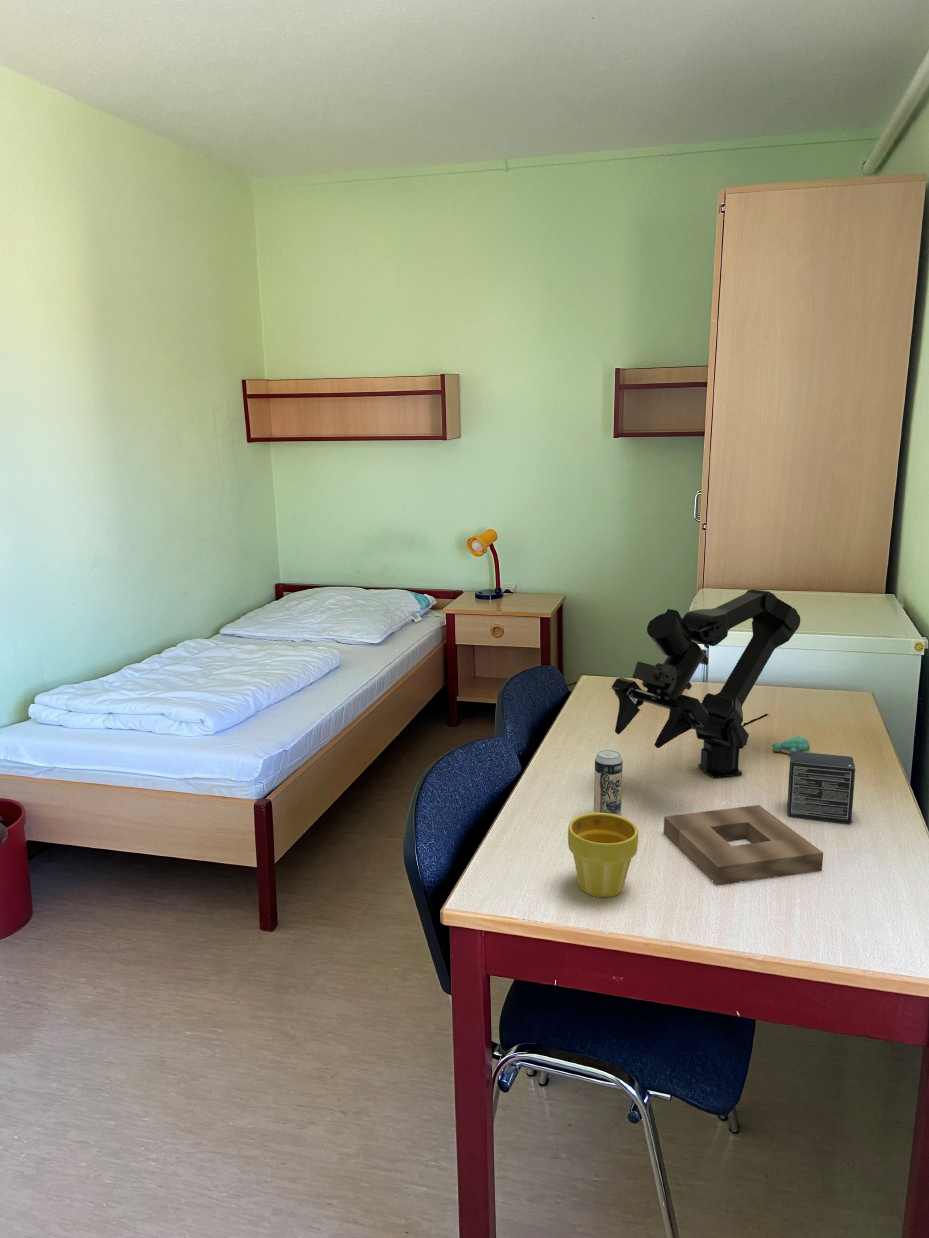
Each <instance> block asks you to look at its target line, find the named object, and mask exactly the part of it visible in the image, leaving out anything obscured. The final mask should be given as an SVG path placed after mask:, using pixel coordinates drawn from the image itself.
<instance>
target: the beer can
mask: <svg viewBox="0 0 929 1238" xmlns="http://www.w3.org/2000/svg"><path fill="white" fill-rule="evenodd" d="M623 763H624V762H623V758H622V756H621V753H620V752H619V751H616V750H612V749H610V750H609V749H604V750H599V751H598V752H597V754H596V756H595V758H594V780H593V781H594V785H593V786H594V787H593V789H594V791H593V792H594V795H593V813H609V814H615V815H619V816H622V799H623V798H622V797H623V796H622V795H623V794H622V793H623V766H624V765H623Z"/></svg>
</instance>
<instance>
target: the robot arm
mask: <svg viewBox="0 0 929 1238" xmlns="http://www.w3.org/2000/svg"><path fill="white" fill-rule="evenodd" d="M750 619H752V621H751V629H752V637H751V639H750V640H749V641H748V643H747V645H746V647H745V648H744V651H743V652H742V654H741V656H740V657H739V659H738V661H736V662H737V663H736V664H735V666H734V667H733V670H732V671H731V673H730V674H729V676H728V678H727V679H726V681H725V683H724V684H723V686H722V688H721V689H720V691H719V692H718V693H716V694H713V693H710V692H708V693H706V694H705V695H704V697H703V700H701V701H702V703H701V702H700V700H699V699H698V698H695V697H694V696H693V697H692V696H689V695H685V694H683V693H684V691H685V690H689V691H690V690H691V688H692V686H693V685H692V684H691V682H690V681H691V679H692V678H693V676H694V674H695V673H696V671H697V669H698V668H699V665H703V666H704V665H705V666H708V664H709V658H708V655H707V650H706V649H703V648H701V646H700V644H701V645H705V646H710V647H714V646H715V647H716V646H717V645H719V643H721V642H722V641H723V640H725V639H726V638H727V637H728V635H729V630H731V629H732V628H735V627H736V626H738V625H740V624H742V623H744V622H746V621H748V620H750ZM800 625H801V616H800V615H799V613H798V611H797V609H796V608H794V607H793V606H791V605H790V604H788V603H787V602H785V601H783V600H781V599H780V598H778V597H777V596H776V595H775V594H774V593H772V592H771V591H768V590H763V589H755V588H752V589H748V590H747V591H746V592H745V593H743V594H742V595H739V596H737V597H735V598H733V599H731V600H729V601H727V602H724V603H722V604H721V605H718V606H716V607H714V608H701V609H695V610H694V609H693V610H690V611H688V612H686V613H685V614H684V615H683V617H681V614H680V613H679V611H678V610H677V609H672V608H667V610H666V611H665V612H664V613H660V614H659V615H657V616H655V617H653V618H652V619H651V620H650V621H649V622H648V624H647V625H646V632H647V634H648V636H649V637H650V639H651V641H653V642H654V644H655V645H656V646H657V648H658V650H659V651H660V652H661V653H662V654H663V655H665V656H666V658H665V660H664V661H663V663H660V662H657V663H656V664H655V665H654V664H650V663H646V662H642V661H639V660H637V661H636V664H635V667H634V669H633V670H634V671H633V673H632V676H631V678H632V679H634V680H631V679H628V678H625V677H618V678H616V679H615V680H614V682H613V683H612V686H611V690H613V692H614V695H615V696H616V697H617V698H618V702H619V703H618V712H617V718H616V722H615V723H616V724H615V729H614V732H615V734H616V735H620V734H621V733H623V731H624V730H625V729H626V728H627V726H628V725H629V724H630V723H631V722H632V721H633V719H634V718H635V717H636V716H637V715H638V714H639V712H640V711H641V709H640V708H639V707H640V706H642V705H643V704H644V703H647V704H651V705H654V706H658V707H661V708H665V709H668V710H669V714H668V719H667V721H666V722H665V724H664V726H663V727H662V729H661V731H660V733H659V734H658V736H657V738H656V740H655V743H654V747H655V748H656V749H660V748H661V747H663V746H665V745H666V744H668V743H669V742H671V741H672V740H674V739H675V738H677V737H679V736H680V735H683V734H684V733H686V732H689V731H690V730H695V735H696V737H697V739H698V740H701V741H703V746H702V747H701V750H700V763H699V764H698V768H699V769H700V770H703V772H705V773H706V774H708V775H709V776H711V778H713V779H716V778H726V777H733V776H734V777H735V776H741V775H743V771H742V770H740V769H739V761H740V759H739V758H740V750H743V749H744V746H746V745H747V744H748V739H749V735H750V734H749V733H748V732H747V731H746V729H745V728H744V725H741V724H742V722H743V710H742V707H743V706H744V705H743V704H745V701H746V700H747V699H748V696H749V694H750V692H751V691H752V690H753V687H754V685H755V684H756V682H757V681H758V678H760V676H761V673H762V672H763V670H764V669H765V666H766V665H767V663H768V661H769V659H770V658H771V656H772V655H773V653H774V651H775V650H776V649H777V648H778V647H781V646H782V645H784V644H786V643H787V642H789V641H790V640H791V638H792V637H793V636H794V635H795V633H796V632H797V631H798V629H799V627H800ZM635 680H639V681H642V683H641V685H642V686H643V687H644V688H646V689H647V690H643V689H642V688H641V687H640V686H639V684H638V683H637V682H636V681H635Z"/></svg>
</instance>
